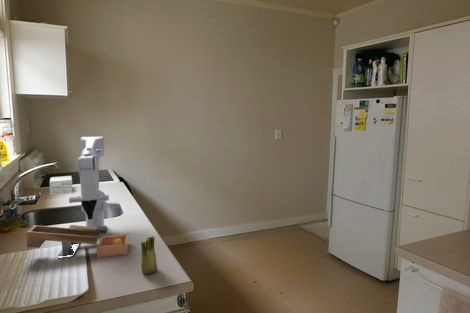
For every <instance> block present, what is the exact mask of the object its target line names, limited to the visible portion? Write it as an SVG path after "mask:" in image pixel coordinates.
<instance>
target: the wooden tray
mask: <svg viewBox="0 0 470 313" xmlns="http://www.w3.org/2000/svg"><path fill="white" fill-rule="evenodd" d="M107 231H108V226H106V227H102V226H97V227H87V226H86V225H77V224H75V225H74V224H73V225H72V224H70V226H69V227H59V226H58V227H57V226H47V225H35V224H34V225H32V226H31V228H29V229H28V230H27V231H26V237H25V240H27V241H26V242H27V243H26V248H32V249H35V248H36V249H39V248H41V246H43V244H44V243H45V242H47V241H48V242H58V243H59V242H61V243H62V242H72V243H81V244H88V245H96V244H97V243H98V240H99V238H100V234H101V235H106V234H107Z"/></svg>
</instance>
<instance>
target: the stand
mask: <svg viewBox="0 0 470 313" xmlns="http://www.w3.org/2000/svg"><path fill="white" fill-rule="evenodd" d="M73 244H80V245H81V244H82V243H72V242H61V251H60V252H59V254H58V256H67V255H73V253H74V251H73V249H71V248H72V246H71V245H73ZM58 256H57V257H58Z"/></svg>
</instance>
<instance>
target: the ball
mask: <svg viewBox="0 0 470 313" xmlns="http://www.w3.org/2000/svg"><path fill="white" fill-rule="evenodd" d="M119 244H123V241H122V240H121V239H115V240H114V241H113V243H112V245H119Z"/></svg>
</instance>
